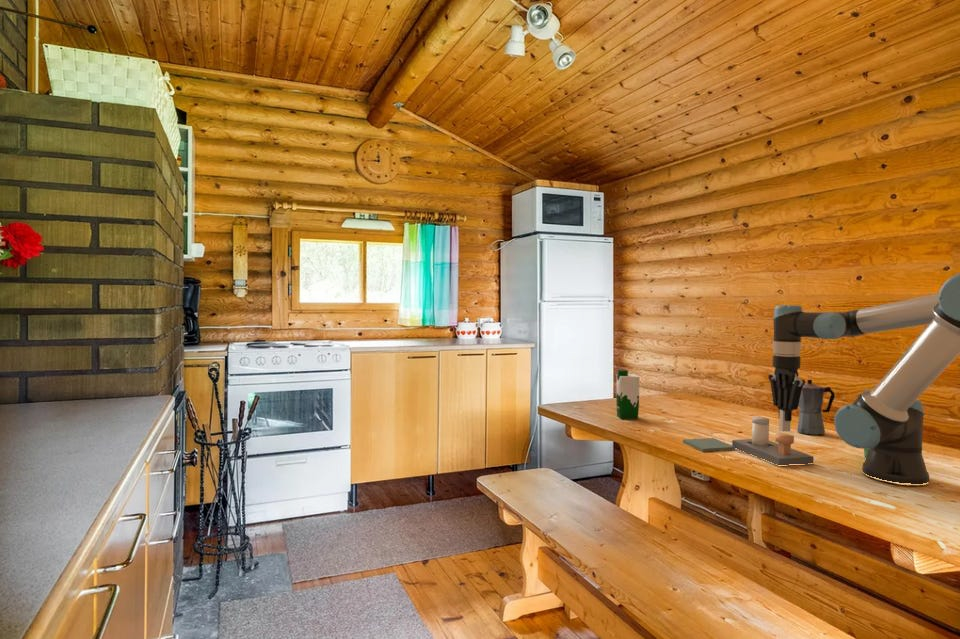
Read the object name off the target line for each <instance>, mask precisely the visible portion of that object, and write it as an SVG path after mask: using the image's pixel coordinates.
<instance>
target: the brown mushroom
mask: <svg viewBox="0 0 960 639" xmlns="http://www.w3.org/2000/svg"><path fill="white" fill-rule="evenodd" d="M775 443H778V453H780V454H783V455H788V454H791V449H792V446H791V445H792V444H795V436H794V435H793V434H789V433H775Z"/></svg>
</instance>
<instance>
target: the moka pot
mask: <svg viewBox="0 0 960 639" xmlns="http://www.w3.org/2000/svg"><path fill="white" fill-rule="evenodd" d="M825 393H830V397H829V400H828V403H827V407H826V409H822V408H823V403H824V395H825ZM835 396H836V394H835V392H834V391H833V389H832V388H830V386H827V387H825V386H821V385H816V384H813V380H812V379H807V383H805V384H804V385H803V387H802V391H801V395H800V400H799V404H798V408H799V409H798V410H799V414H798V422H797V433H799V432H800V434H805V435H815V436H816V435H817V436H818V435H819V436H820V435H825V433H826V430H825V426H824V424H825V423H824V419H823V414H822V412H823V413H830V411H831V408H832V406H833V402H834V400H835Z"/></svg>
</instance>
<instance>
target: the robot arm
mask: <svg viewBox="0 0 960 639" xmlns="http://www.w3.org/2000/svg"><path fill="white" fill-rule="evenodd" d="M772 321H773V338H772V339H773V340H772V342H773V343H772V354H774V355H773V356H772V367H773V368H774V372H773V373H772V374H768V379H769V383H770V388H771V389H770V390H771V396H772V397H771V398H772V403H773V406H775V407H777V409H778V419H779V421H778V422H779V423H778V424H779V425H778V426H779V427H778V431H779V432H791V422H792V416H793V415H792V414H793V411H794V410H799V409H798V408H799V406H798V404H799V400H800V395H801V391H802V387H803V385H805V384H806V381H805V380H804V379H801V378H800V377H799V371H798V370H799V369H800V368H801V357H800V356H799V355H801V350H802V349H801V348H802V343H801V342H802V338H812V339H813V338H814V339H823V340H837V339H840V338H855V337H858V336H862V335H867V334H875V333H880V332H887V331H893V330H899V329H906V328H913V327H918V326H919V327H920V326H926V325H927V326H926V327H925V328H924V330H923V331H922V332H921V333H920V334H919V335H918V336H917V337H916V338H915V340H914V341H913V342H912V344H911V345H910V346H909V347H908V348H907V349H906V351H905V352H904V353H902V356H900V358H899V359H898V360H897V361H896V363H895V364H894V365H892V367H891V368H890V369H888V370H889V371H887V372H886V373H885V375H884V376H883V378H882V379H880V380H879V382H878V383H877V384H876V385H875V386H874V388H872V389H870V388H869V389H864V390H863V391H862V392H861V393H860V394H859V395H858V396H857V397H856V399H854V401H853V402H852V403H851V404H846V405H844V406H841V407H840V408H838V409H837V411H836V413H834V414H835V415H834V419H833V423H834V426H835V427H834V428H835V431H836V434H837V435H838V436H839V438H840V440H842V441H843V442H844V443H845V444H847V445H849V446H850V447H853V448H856V449H863V450H864V448H866V449H870V450H869V452H868V454H867V457H866V460H865V459H864V460H865V461H864V462H863V464H862V466H861V467H862V471H863V472H864V473H865V474H867V475H869V476H872V477H876V478H879V479H882V480H887V481H892V482H899V483H911V484H923V483H927V482H929V483H930V474H929V472H928V470H927V466H926V463H925V458H924V457H923V438H924V437H923V435H924V434H923V433H924V415H925V412H924V404H923V402H922V401H921V400H918V399H919V398H920V397H921V396H922V395H923V393H925V392H926V390H928V388H929V387H930V386H931V385H932V384H933V383H934V382H935V380H937V379H938V377H939V376H940V375H941V374H942V373H943V372H944V371H945V370H946V369H947V368H948V367H949V366H950V364H951V363H952V362H953V361H954V360H955V359H956V358H957V357H958V356H959V355H960V272H959V273H956V274H954V275H953V276H951V277H949V278H948V279H947V280H945V282H944V283H943V284H942V286H941V287H940V289H939V293H935V294H930V295H925V296H920V297H913V298H911V299H910V298H909V299H903V300H899V301H893V302H889V303H884V304H879V305H874V306H869V307H864V308H859V309H853V310H849V311H848V310H847V311H838V312H837V311H834V312H833V311H832V312H831V311H830V312H826V311H825V312H823V311H822V312H814V311H813V312H809V311H808V312H805V311H803V307H802V306H801V305H799V304H798V305H795V304H793V305H792V304H790V305H789V304H782V305H781V304H780V305H776V306H775V307H774V311H773V318H772Z"/></svg>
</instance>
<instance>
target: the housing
mask: <svg viewBox="0 0 960 639" xmlns="http://www.w3.org/2000/svg"><path fill="white" fill-rule="evenodd" d="M731 445H732V446H734V447H735V448H737V449H739V450H738V451H740V450H741V451H740V452H742V451H744V452H746V453H745V454H747V453H749V454H752V455H754V456H757V457H759V458H762V459H765V460H767V461H769V462H772V463H774V464H777V465H789V464H808V463H813V464H814V460H815V459H814V458H815V457H814V455H811V454H808V453H805V452H803V451H800V450H797V449H795V448H791V454H788V455H783V454H780V453H778V442H776V441H775V442H774V441H772V440H769V446H763V447H757V446H755V445H752V438H748V439H747V438H744V439H732V441H731ZM737 449H736V450H737ZM744 452H743V453H744ZM749 454H748V455H749ZM752 455H751V456H752ZM754 456H753V457H754ZM759 458H758V459H759Z"/></svg>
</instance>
